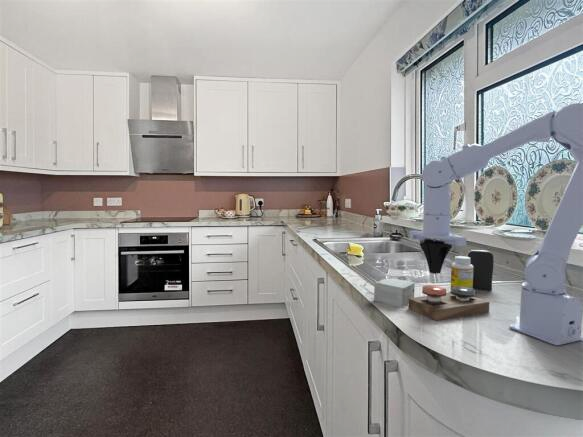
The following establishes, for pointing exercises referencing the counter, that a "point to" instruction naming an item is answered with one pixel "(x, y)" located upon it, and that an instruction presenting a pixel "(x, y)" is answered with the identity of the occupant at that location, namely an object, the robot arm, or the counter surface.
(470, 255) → the battery charger
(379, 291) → the small box
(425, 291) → the copper knob
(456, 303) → the walnut block
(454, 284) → the supplement bottle
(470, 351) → the counter surface
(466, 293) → the grey metal knob
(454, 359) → the counter surface
